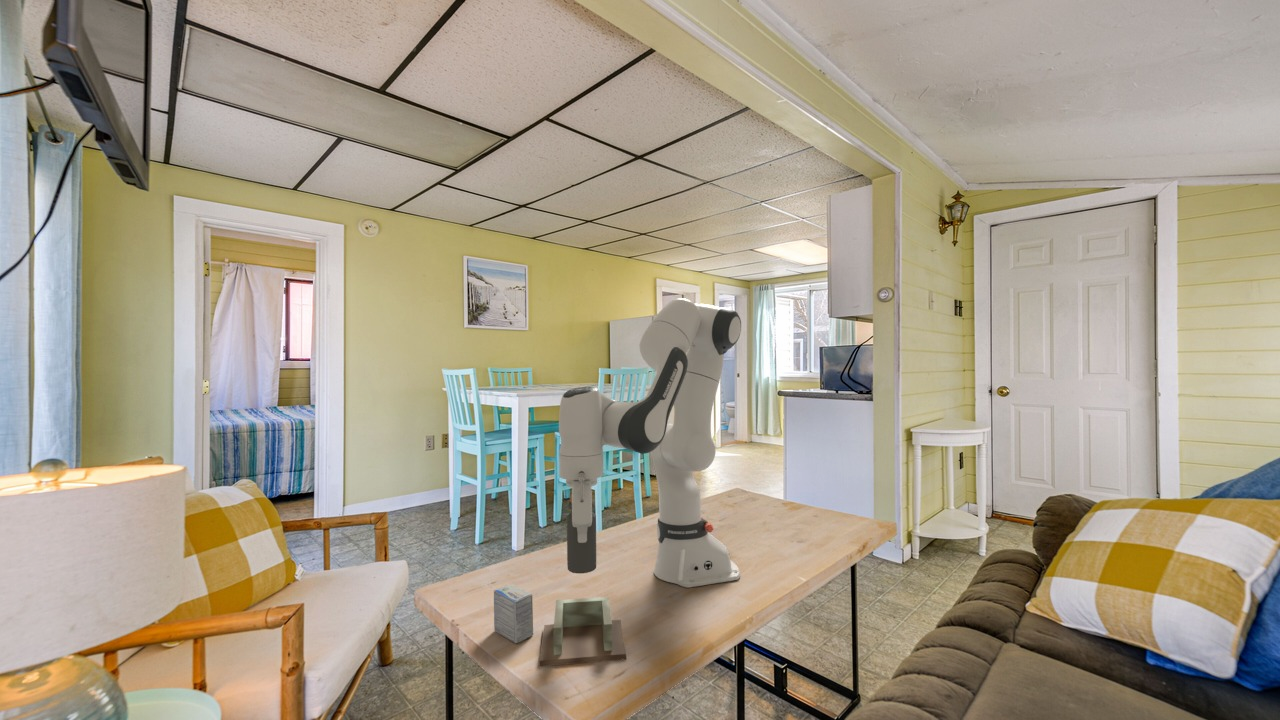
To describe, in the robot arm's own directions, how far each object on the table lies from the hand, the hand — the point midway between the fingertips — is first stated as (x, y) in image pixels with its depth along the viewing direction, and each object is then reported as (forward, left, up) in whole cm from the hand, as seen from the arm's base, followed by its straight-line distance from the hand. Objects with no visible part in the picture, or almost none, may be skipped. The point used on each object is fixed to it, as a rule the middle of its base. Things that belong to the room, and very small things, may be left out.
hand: (582, 535), depth 102 cm
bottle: (0, 0, -7) cm, 7 cm away
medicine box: (+14, -4, -21) cm, 26 cm away
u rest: (0, +2, -21) cm, 21 cm away
